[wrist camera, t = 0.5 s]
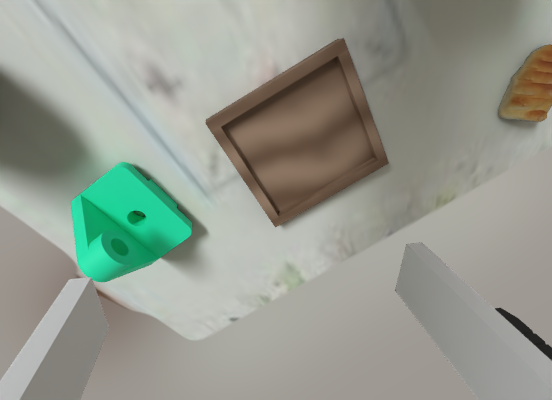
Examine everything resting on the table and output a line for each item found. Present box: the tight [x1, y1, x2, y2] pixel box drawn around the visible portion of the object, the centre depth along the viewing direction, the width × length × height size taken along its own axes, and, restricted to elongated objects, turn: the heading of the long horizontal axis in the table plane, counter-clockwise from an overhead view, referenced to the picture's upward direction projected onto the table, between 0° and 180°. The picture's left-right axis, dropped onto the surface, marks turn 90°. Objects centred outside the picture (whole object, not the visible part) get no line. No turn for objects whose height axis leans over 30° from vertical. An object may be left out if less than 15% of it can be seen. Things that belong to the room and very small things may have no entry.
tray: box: [206, 39, 388, 227], centre depth 36 cm, size 16×17×2 cm
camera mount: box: [71, 162, 192, 282], centre depth 33 cm, size 12×8×10 cm, turn 35°
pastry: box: [498, 45, 552, 122], centre depth 38 cm, size 9×7×4 cm
